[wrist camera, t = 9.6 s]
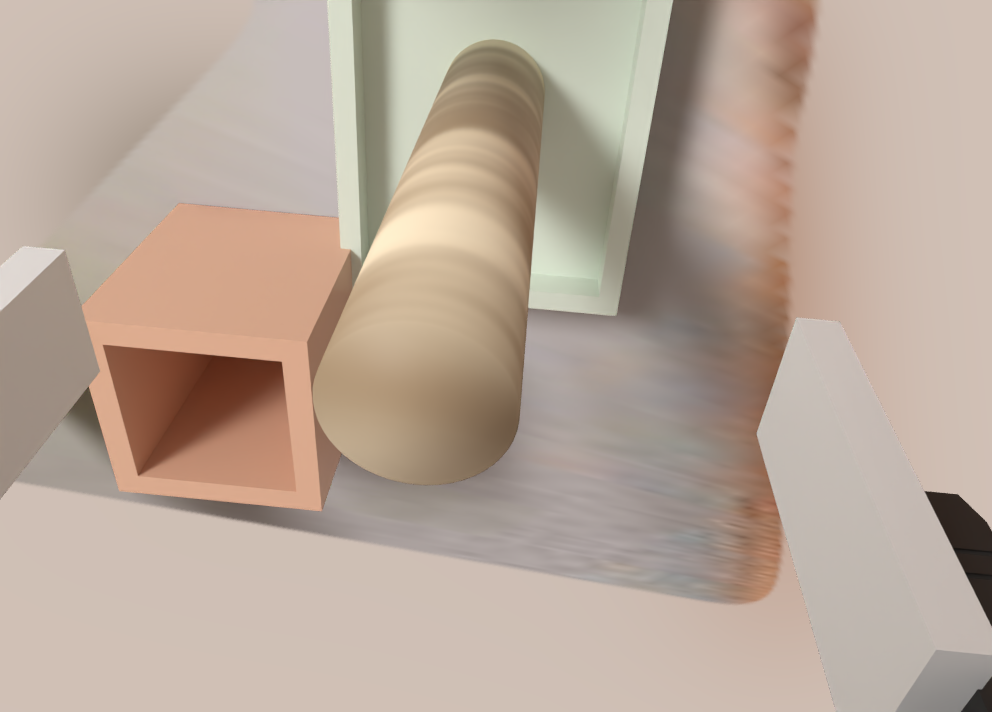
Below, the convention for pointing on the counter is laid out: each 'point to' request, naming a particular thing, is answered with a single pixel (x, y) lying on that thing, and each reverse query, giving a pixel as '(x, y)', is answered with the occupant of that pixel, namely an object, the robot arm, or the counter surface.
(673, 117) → the counter surface
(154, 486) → the pot
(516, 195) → the dowel
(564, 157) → the tray
